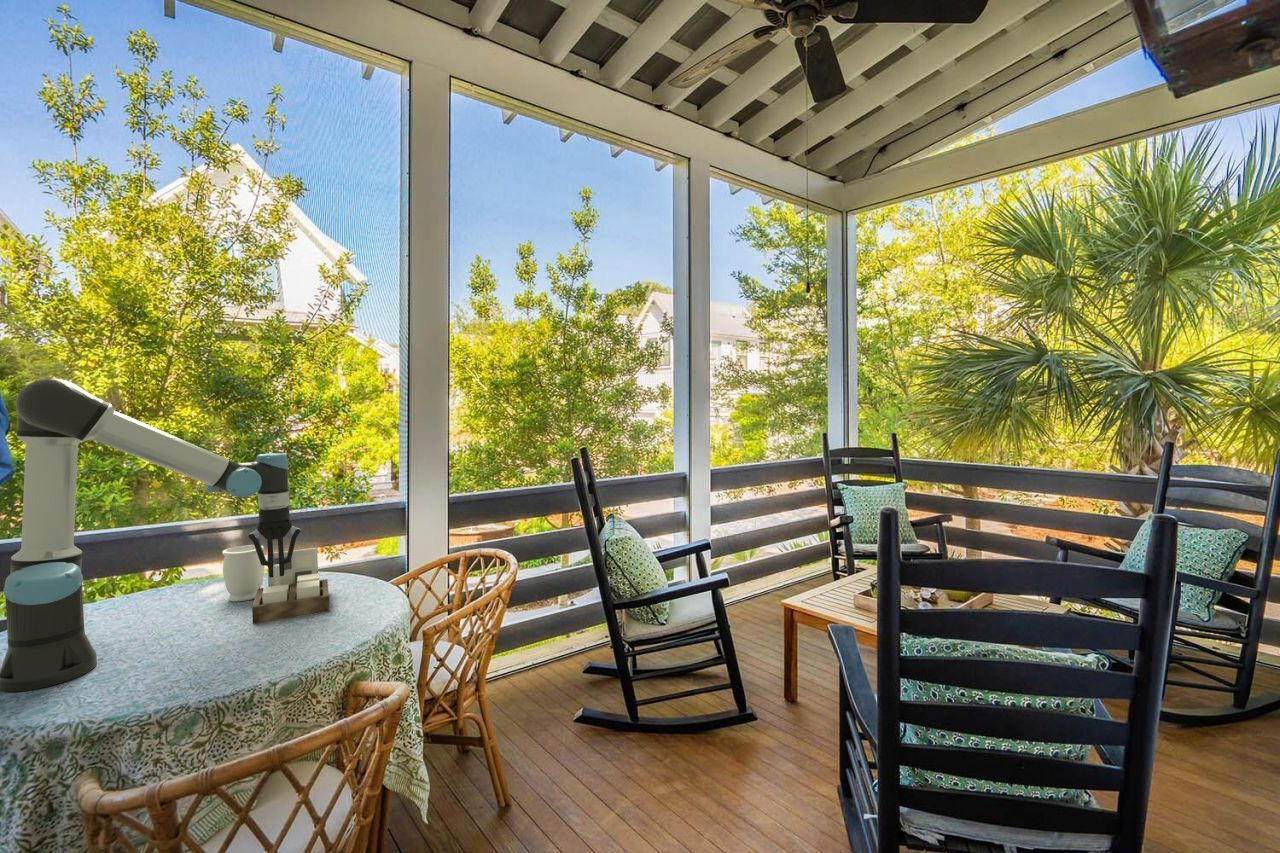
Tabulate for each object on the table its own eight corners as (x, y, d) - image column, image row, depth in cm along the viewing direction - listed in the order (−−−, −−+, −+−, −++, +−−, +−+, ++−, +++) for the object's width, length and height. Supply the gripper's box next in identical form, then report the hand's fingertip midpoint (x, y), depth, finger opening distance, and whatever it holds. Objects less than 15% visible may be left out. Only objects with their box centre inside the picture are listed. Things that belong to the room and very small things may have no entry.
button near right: (296, 602, 162) (296, 588, 161) (297, 596, 167) (296, 583, 166) (319, 599, 164) (319, 585, 164) (319, 593, 169) (319, 580, 169)
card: (268, 600, 173) (267, 554, 172) (269, 599, 174) (267, 553, 173) (318, 593, 179) (317, 548, 179) (318, 592, 180) (317, 547, 180)
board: (252, 623, 155) (252, 607, 155) (258, 603, 171) (257, 588, 170) (329, 611, 164) (328, 596, 163) (327, 593, 179) (327, 579, 179)
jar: (272, 595, 178) (270, 547, 177) (234, 605, 169) (232, 554, 168) (255, 589, 183) (253, 542, 183) (217, 599, 175) (215, 549, 174)
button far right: (297, 594, 169) (297, 580, 168) (298, 589, 173) (297, 575, 173) (319, 591, 171) (319, 577, 171) (319, 586, 176) (319, 573, 176)
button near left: (262, 608, 158) (262, 593, 158) (264, 601, 163) (263, 587, 162) (286, 604, 160) (286, 590, 160) (287, 598, 165) (287, 584, 165)
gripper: (245, 511, 161) (249, 595, 162) (299, 506, 167) (303, 587, 168) (248, 507, 167) (251, 587, 169) (300, 502, 174) (303, 580, 175)
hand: (277, 587), depth 168 cm, fingers closed
